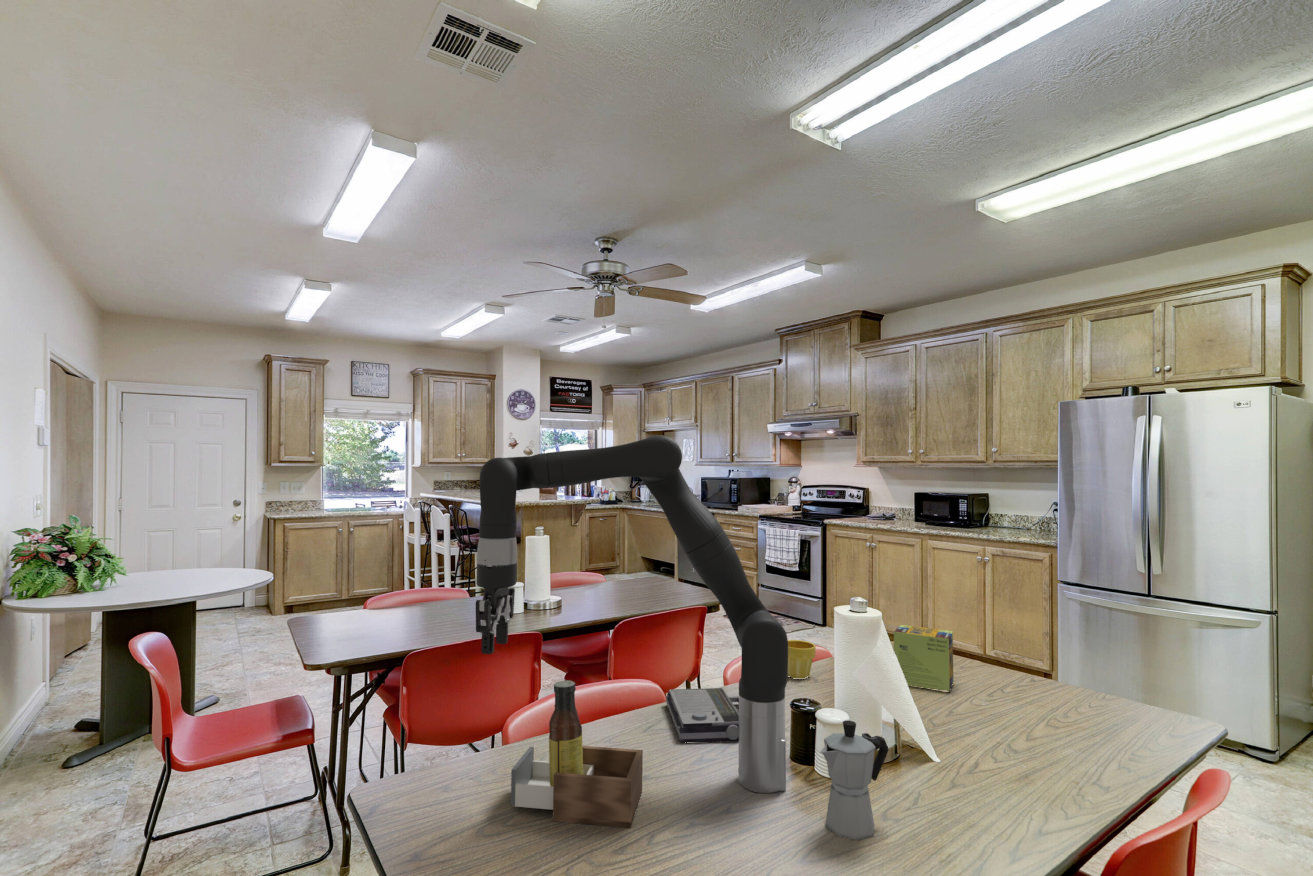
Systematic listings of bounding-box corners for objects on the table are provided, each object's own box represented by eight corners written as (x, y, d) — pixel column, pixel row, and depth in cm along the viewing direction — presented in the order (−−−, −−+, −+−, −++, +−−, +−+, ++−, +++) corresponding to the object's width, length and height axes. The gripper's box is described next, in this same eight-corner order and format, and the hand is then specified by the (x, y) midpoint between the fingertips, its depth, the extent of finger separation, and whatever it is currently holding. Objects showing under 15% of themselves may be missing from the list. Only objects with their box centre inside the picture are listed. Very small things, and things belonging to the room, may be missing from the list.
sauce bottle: (588, 787, 122) (590, 680, 123) (573, 802, 116) (575, 690, 117) (558, 780, 124) (559, 676, 125) (541, 796, 118) (543, 686, 119)
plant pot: (814, 672, 200) (814, 640, 200) (816, 683, 190) (816, 649, 190) (780, 670, 202) (780, 638, 202) (780, 680, 192) (780, 647, 192)
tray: (593, 785, 124) (594, 751, 125) (580, 812, 114) (581, 775, 115) (529, 779, 126) (529, 746, 126) (510, 806, 116) (511, 769, 117)
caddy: (642, 792, 124) (642, 750, 125) (630, 828, 112) (631, 781, 112) (572, 786, 126) (572, 745, 127) (552, 821, 114) (553, 775, 114)
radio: (665, 687, 170) (739, 684, 173) (665, 707, 170) (738, 704, 173) (679, 722, 146) (764, 719, 149) (679, 746, 146) (764, 743, 148)
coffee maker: (837, 848, 107) (836, 737, 107) (804, 821, 115) (804, 718, 116) (905, 828, 112) (904, 724, 113) (870, 804, 121) (869, 707, 121)
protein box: (950, 694, 182) (949, 638, 182) (893, 684, 189) (892, 631, 190) (954, 683, 191) (953, 630, 191) (899, 674, 198) (899, 624, 199)
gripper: (493, 555, 132) (490, 638, 131) (462, 565, 117) (459, 658, 117) (528, 556, 131) (526, 639, 130) (501, 567, 116) (499, 660, 116)
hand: (494, 648), depth 123 cm, fingers open, 6 cm apart
